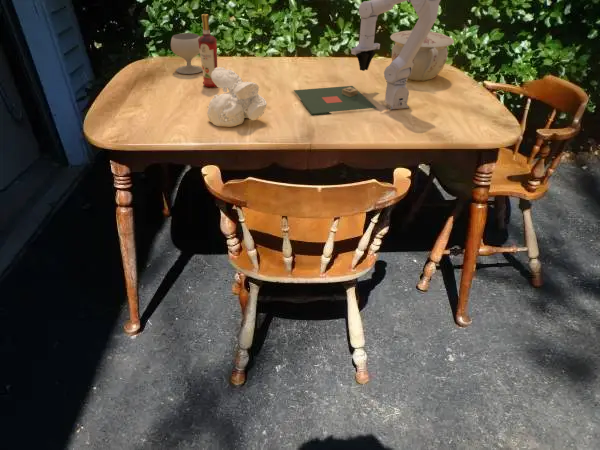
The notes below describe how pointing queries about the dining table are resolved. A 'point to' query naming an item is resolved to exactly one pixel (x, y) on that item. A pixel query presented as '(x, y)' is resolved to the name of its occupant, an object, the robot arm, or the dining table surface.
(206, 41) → the liquor
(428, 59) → the chamber pot
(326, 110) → the game board
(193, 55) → the chalice
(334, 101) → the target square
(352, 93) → the letter tile
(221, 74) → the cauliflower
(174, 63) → the dining table surface
